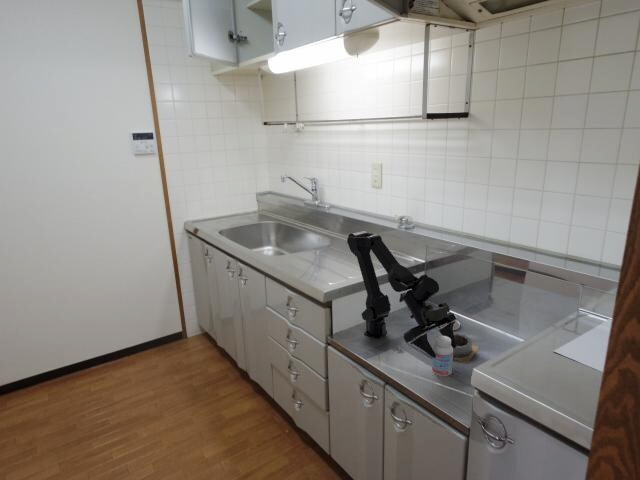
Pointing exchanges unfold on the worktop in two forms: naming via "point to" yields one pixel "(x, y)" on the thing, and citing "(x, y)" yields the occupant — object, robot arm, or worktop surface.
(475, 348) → the tan square board
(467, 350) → the ring collar
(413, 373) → the worktop surface
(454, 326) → the mechanical component
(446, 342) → the pill bottle
